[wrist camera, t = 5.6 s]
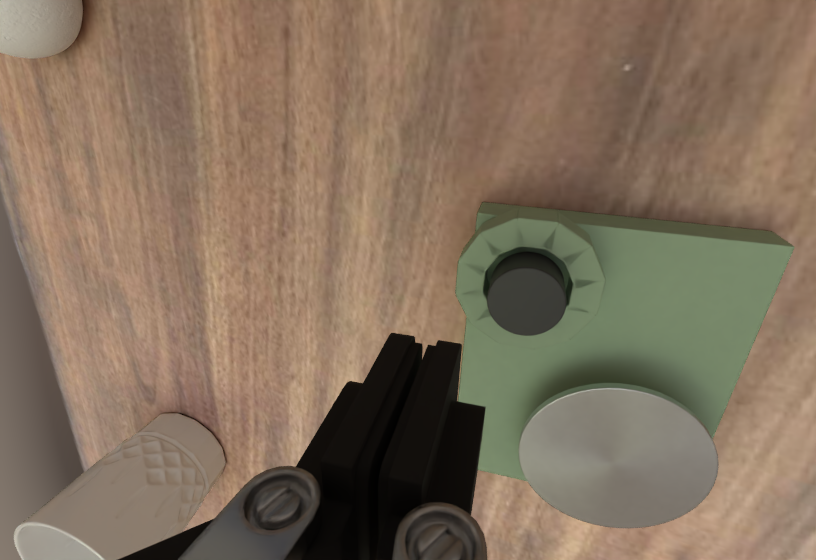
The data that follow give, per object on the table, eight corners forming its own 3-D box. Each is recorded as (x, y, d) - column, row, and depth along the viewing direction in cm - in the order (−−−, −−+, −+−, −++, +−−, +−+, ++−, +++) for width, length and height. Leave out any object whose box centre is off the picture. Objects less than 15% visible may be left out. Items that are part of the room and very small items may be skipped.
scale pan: (532, 366, 20) (532, 371, 20) (744, 403, 18) (748, 410, 18) (508, 497, 24) (507, 503, 23) (683, 539, 22) (685, 547, 22)
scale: (473, 191, 21) (462, 211, 18) (776, 220, 18) (824, 250, 15) (449, 438, 28) (438, 484, 25) (670, 487, 25) (688, 545, 22)
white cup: (147, 462, 37) (26, 582, 29) (141, 390, 34) (0, 503, 25) (231, 497, 36) (133, 633, 27) (235, 427, 33) (123, 559, 24)
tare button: (495, 246, 19) (491, 262, 17) (570, 255, 18) (573, 272, 17) (487, 309, 20) (482, 330, 18) (557, 320, 19) (559, 342, 18)
